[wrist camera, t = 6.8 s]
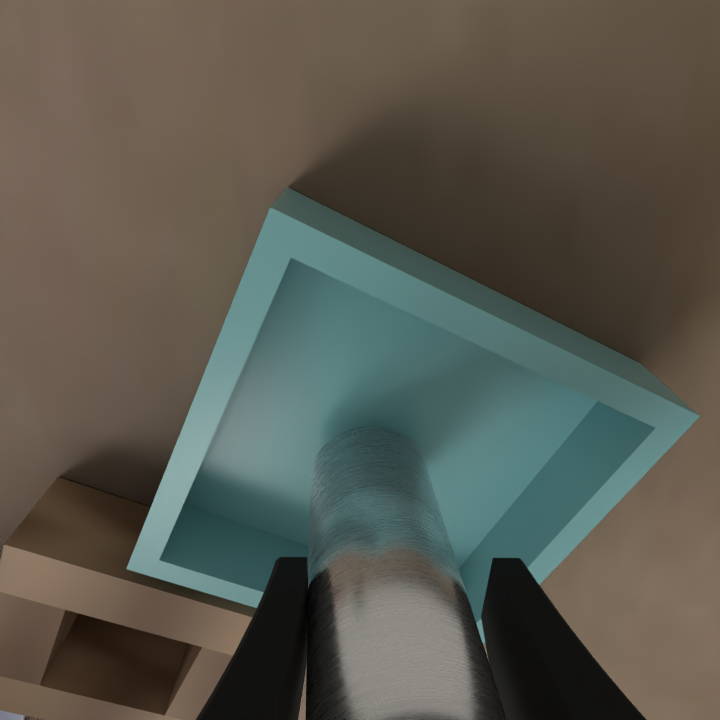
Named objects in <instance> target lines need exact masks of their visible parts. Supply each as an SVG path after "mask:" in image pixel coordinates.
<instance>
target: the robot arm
mask: <svg viewBox="0 0 720 720" xmlns="http://www.w3.org/2000/svg"><path fill="white" fill-rule="evenodd" d="M481 620H482V626H483V632H484V638H485V643H486V649H487V654H488V659H489V664H490V668H491V671H492V674H493V677H494V680H495V683H496V687H497V690H498V693H499V696H500V699H501V702H502V705H503V709H504V712H505V715H506V718H507V720H646V719H645V717H644V716H643V715H642V714H641V713H640V712H639V711H638V710H637V708H636V707H635V706H634V705H633V704H632V703H631V702H630V701H629V699H628V698H627V697H626V696H625V695H624V694H623V692H622V691H621V690H620V689H619V688H618V686H617V685H616V684H615V683H614V682H613V681H612V679H611V678H610V677H609V676H608V675H607V673H606V672H605V671H604V670H603V669H602V667H601V666H600V665H599V664H598V662H597V661H596V660H595V659H594V658H593V656H592V655H591V654H590V652H589V651H588V650H587V649H586V647H585V646H584V645H583V643H582V642H581V641H580V640H579V638H578V637H577V636H576V634H575V633H574V632H573V631H572V629H571V628H570V627H569V625H568V624H567V623H566V621H565V620H564V619H563V617H562V616H561V615H560V613H559V612H558V611H557V609H556V608H555V606H554V605H553V604H552V602H551V601H550V600H549V598H548V597H547V595H546V594H545V593H544V591H543V590H542V588H541V587H540V585H539V584H538V583H537V581H536V580H535V578H534V577H533V575H532V574H531V572H530V571H529V570H528V568H527V567H526V565H525V564H524V562H523V561H522V560H521V559H520V558H493V559H492V564H491V569H490V574H489V579H488V584H487V589H486V594H485V598H484V603H483V608H482V613H481ZM307 628H308V566H307V557H280V558H278V559H277V560H276V561H275V564H274V567H273V570H272V573H271V576H270V578H269V581H268V584H267V586H266V588H265V591H264V593H263V596H262V598H261V600H260V602H259V604H258V607H257V609H256V611H255V613H254V615H253V618H252V619H251V621H250V623H249V625H248V627H247V629H246V631H245V633H244V635H243V637H242V639H241V641H240V643H239V645H238V647H237V649H236V651H235V653H234V655H233V657H232V659H231V660H230V662H229V664H228V666H227V667H226V669H225V671H224V673H223V674H222V676H221V678H220V680H219V681H218V683H217V685H216V687H215V689H214V690H213V692H212V694H211V695H210V697H209V699H208V700H207V702H206V704H205V705H204V707H203V709H202V710H201V712H200V714H199V715H198V717H197V718H196V720H298V716H299V710H300V703H301V697H302V690H303V683H304V677H305V670H306V661H307ZM24 719H25V716H24V715H19V714H15V713H11V712H6V711H2V710H0V720H24Z"/></svg>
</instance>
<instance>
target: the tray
mask: <svg viewBox="0 0 720 720" xmlns="http://www.w3.org/2000/svg"><path fill="white" fill-rule="evenodd" d="M699 417H700V416H699V415H698V414H697V413H696V412H695V411H694V410H693V409H692V408H690V407H689V406H688V405H687V404H686V403H685V402H684V401H682V400H681V399H680V398H679V397H678V396H677V395H676V394H674V393H673V392H672V391H671V390H670V389H669V388H668V387H666V386H665V385H664V384H663V383H662V382H661V381H660V380H659V379H657V378H656V377H655V376H654V375H653V374H652V373H651V372H649V371H648V370H647V369H646V368H645V367H644V366H643V365H641V364H640V363H638V362H636V361H634V360H632V359H630V358H628V357H626V356H624V355H622V354H620V353H618V352H616V351H614V350H612V349H610V348H608V347H606V346H604V345H602V344H600V343H598V342H596V341H594V340H592V339H590V338H588V337H586V336H584V335H582V334H580V333H578V332H576V331H574V330H572V329H570V328H568V327H566V326H564V325H562V324H560V323H558V322H556V321H554V320H552V319H550V318H548V317H546V316H544V315H542V314H540V313H538V312H536V311H534V310H532V309H530V308H528V307H526V306H524V305H522V304H520V303H518V302H516V301H514V300H512V299H510V298H508V297H506V296H504V295H502V294H500V293H498V292H496V291H494V290H492V289H490V288H488V287H486V286H484V285H482V284H480V283H478V282H476V281H474V280H472V279H470V278H468V277H466V276H464V275H462V274H460V273H458V272H456V271H454V270H452V269H450V268H448V267H446V266H444V265H442V264H440V263H438V262H436V261H434V260H432V259H430V258H428V257H426V256H424V255H422V254H420V253H418V252H416V251H414V250H412V249H410V248H408V247H406V246H404V245H402V244H400V243H398V242H396V241H394V240H392V239H390V238H388V237H386V236H384V235H382V234H380V233H378V232H376V231H374V230H372V229H370V228H368V227H366V226H364V225H362V224H360V223H358V222H356V221H354V220H352V219H350V218H348V217H346V216H344V215H342V214H340V213H338V212H336V211H334V210H332V209H330V208H328V207H326V206H324V205H322V204H320V203H318V202H316V201H314V200H312V199H310V198H308V197H306V196H304V195H302V194H300V193H298V192H296V191H294V190H292V189H290V188H288V187H287V188H286V189H285V190H284V192H283V193H282V194H281V195H280V196H279V197H278V199H277V200H276V201H275V202H274V203H273V205H272V206H271V207H270V209H269V211H268V214H267V217H266V219H265V222H264V224H263V227H262V229H261V232H260V234H259V237H258V239H257V242H256V244H255V247H254V249H253V252H252V254H251V257H250V259H249V262H248V264H247V267H246V269H245V272H244V274H243V277H242V279H241V282H240V284H239V287H238V289H237V292H236V294H235V297H234V299H233V302H232V304H231V307H230V310H229V312H228V315H227V317H226V320H225V322H224V325H223V327H222V330H221V332H220V335H219V337H218V340H217V342H216V345H215V347H214V350H213V352H212V355H211V357H210V360H209V362H208V365H207V367H206V370H205V372H204V375H203V377H202V380H201V382H200V385H199V387H198V390H197V392H196V395H195V397H194V400H193V403H192V405H191V408H190V410H189V413H188V415H187V418H186V420H185V423H184V425H183V428H182V430H181V433H180V435H179V438H178V440H177V443H176V445H175V448H174V450H173V453H172V455H171V458H170V460H169V463H168V465H167V468H166V470H165V473H164V475H163V478H162V480H161V483H160V485H159V488H158V490H157V493H156V496H155V498H154V501H153V503H152V506H151V508H150V511H149V513H148V516H147V518H146V521H145V523H144V526H143V528H142V531H141V533H140V536H139V538H138V541H137V543H136V546H135V548H134V551H133V553H132V556H131V558H130V561H129V563H128V566H127V568H126V569H128V570H131V571H134V572H138V573H141V574H144V575H148V576H151V577H154V578H158V579H161V580H164V581H168V582H171V583H174V584H178V585H181V586H185V587H188V588H191V589H195V590H198V591H201V592H205V593H208V594H211V595H215V596H218V597H221V598H225V599H228V600H231V601H235V602H238V603H241V604H245V605H248V606H251V607H255V608H257V607H258V604H259V602H260V600H261V598H262V596H263V593H264V591H265V588H266V586H267V584H268V581H269V578H270V576H271V573H272V570H273V567H274V564H275V561H276V560H277V559H278V558H280V557H307V566H308V576H309V524H310V473H311V467H312V464H313V461H314V459H315V457H316V455H317V453H318V452H319V450H320V449H321V448H322V447H323V446H324V445H325V444H326V443H327V442H328V441H329V440H330V439H332V438H334V437H335V436H337V435H339V434H341V433H342V432H345V431H348V430H350V429H354V428H358V427H365V426H378V427H385V428H390V429H393V430H396V431H398V432H400V433H402V434H404V435H405V436H407V437H408V438H410V439H411V440H412V441H413V442H414V443H415V444H416V445H417V447H418V448H419V450H420V451H421V453H422V456H423V458H424V461H425V464H426V467H427V471H428V474H429V477H430V480H431V483H432V486H433V489H434V492H435V496H436V499H437V502H438V505H439V508H440V511H441V514H442V518H443V521H444V524H445V527H446V530H447V533H448V536H449V539H450V543H451V546H452V549H453V552H454V555H455V558H456V561H457V564H458V568H459V571H460V574H461V577H462V580H463V583H464V586H465V590H466V593H467V596H468V599H469V602H470V605H471V608H472V611H473V615H474V618H475V621H476V624H477V627H478V630H479V633H480V637H481V640H482V643H484V642H485V638H484V632H483V626H482V620H481V613H482V608H483V603H484V598H485V594H486V589H487V584H488V579H489V574H490V569H491V564H492V559H493V558H520V559H521V560H522V561H523V562H524V564H525V565H526V567H527V568H528V570H529V571H530V572H531V574H532V575H533V577H534V578H535V580H536V581H537V583H538V584H539V585H540V584H541V583H542V582H543V581H544V579H545V578H546V577H547V576H548V575H549V574H550V573H551V572H552V571H553V570H554V569H555V568H556V567H557V566H558V565H559V564H560V563H561V562H562V561H563V560H564V559H565V557H566V556H567V555H568V554H569V553H570V552H571V551H572V550H573V549H574V548H575V547H576V546H577V545H578V544H579V543H580V542H581V541H582V540H583V539H584V538H585V537H586V535H587V534H588V533H589V532H590V531H591V530H592V529H593V528H594V527H595V526H596V525H597V524H598V523H599V522H600V521H601V520H602V519H603V518H604V517H605V516H606V514H607V513H608V512H609V511H610V510H611V509H612V508H613V507H614V506H615V505H616V504H617V503H618V502H619V501H620V500H621V499H622V498H623V497H624V496H625V495H626V494H627V492H628V491H629V490H630V489H631V488H632V487H633V486H634V485H635V484H636V483H637V482H638V481H639V480H640V479H641V478H642V477H643V476H644V475H645V474H646V473H647V472H648V470H649V469H650V468H651V467H652V466H653V465H654V464H655V463H656V462H657V461H658V460H659V459H660V458H661V457H662V456H663V455H664V454H665V453H666V452H667V451H668V449H669V448H670V447H671V446H672V445H673V444H674V443H675V442H676V441H677V440H678V439H679V438H680V437H681V436H682V435H683V434H684V433H685V432H686V431H687V430H688V429H689V427H690V426H691V425H692V424H693V423H694V422H695V421H696V420H697V419H698V418H699Z"/></svg>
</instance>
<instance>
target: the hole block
mask: <svg viewBox="0 0 720 720" xmlns="http://www.w3.org/2000/svg"><path fill="white" fill-rule="evenodd" d="M150 508H151V507H148V506H145V505H142V504H139V503H136V502H133V501H130V500H126V499H123V498H120V497H117V496H114V495H111V494H108V493H105V492H102V491H99V490H96V489H93V488H90V487H87V486H84V485H81V484H78V483H75V482H72V481H69V480H66V479H63V478H60V477H58V478H57V479H56V481H55V482H54V483H53V484H52V485H51V487H50V488H49V489H48V490H47V492H46V493H45V494H44V495H43V497H42V498H41V499H40V500H39V502H38V503H37V504H36V505H35V507H34V508H33V509H32V510H31V512H30V513H29V514H28V515H27V517H26V518H25V519H24V520H23V522H22V523H21V524H20V525H19V527H18V528H17V529H16V530H15V532H14V533H13V534H12V535H11V537H10V538H9V539H8V540H7V542H6V543H5V544H4V547H3V552H2V556H1V560H0V710H2V711H6V712H11V713H15V714H19V715H24V716H28V717H33V718H37V719H42V720H196V718H197V717H198V715H199V714H200V712H201V710H202V709H203V707H204V705H205V704H206V702H207V700H208V699H209V697H210V695H211V694H212V692H213V690H214V689H215V687H216V685H217V683H218V681H219V680H220V678H221V676H222V674H223V673H224V671H225V669H226V667H227V666H228V664H229V662H230V660H231V659H232V657H233V655H234V653H235V651H236V649H237V647H238V645H239V643H240V641H241V639H242V637H243V635H244V633H245V631H246V629H247V627H248V625H249V623H250V621H251V619H252V618H253V615H254V613H255V611H256V609H257V608H255V607H251V606H248V605H245V604H241V603H238V602H235V601H231V600H228V599H225V598H221V597H218V596H215V595H211V594H208V593H205V592H201V591H198V590H195V589H191V588H188V587H185V586H181V585H178V584H174V583H171V582H168V581H164V580H161V579H158V578H154V577H151V576H148V575H144V574H141V573H138V572H134V571H131V570H128V569H126V568H127V566H128V563H129V561H130V558H131V556H132V553H133V551H134V548H135V546H136V543H137V541H138V538H139V536H140V533H141V531H142V528H143V526H144V523H145V521H146V518H147V516H148V513H149V511H150Z"/></svg>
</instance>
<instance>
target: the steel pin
mask: <svg viewBox="0 0 720 720" xmlns="http://www.w3.org/2000/svg"><path fill="white" fill-rule="evenodd" d="M306 720H507V718H506V715H505V712H504V709H503V705H502V702H501V699H500V696H499V693H498V690H497V687H496V683H495V680H494V677H493V674H492V671H491V668H490V665H489V662H488V658H487V655H486V652H485V649H484V646H483V643H482V640H481V637H480V633H479V630H478V627H477V624H476V621H475V618H474V615H473V611H472V608H471V605H470V602H469V599H468V596H467V593H466V590H465V586H464V583H463V580H462V577H461V574H460V571H459V568H458V564H457V561H456V558H455V555H454V552H453V549H452V546H451V543H450V539H449V536H448V533H447V530H446V527H445V524H444V521H443V518H442V514H441V511H440V508H439V505H438V502H437V499H436V496H435V492H434V489H433V486H432V483H431V480H430V477H429V474H428V471H427V467H426V464H425V461H424V458H423V456H422V453H421V451H420V450H419V448H418V447H417V445H416V444H415V443H414V442H413V441H412V440H411V439H410V438H408V437H407V436H405V435H404V434H402V433H400V432H398V431H396V430H393V429H390V428H385V427H378V426H365V427H358V428H354V429H350V430H348V431H345V432H342V433H341V434H339V435H337V436H335V437H334V438H332V439H330V440H329V441H328V442H327V443H326V444H325V445H324V446H323V447H322V448H321V449H320V450H319V452H318V453H317V455H316V457H315V459H314V461H313V464H312V467H311V473H310V524H309V576H308V628H307V681H306Z"/></svg>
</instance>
